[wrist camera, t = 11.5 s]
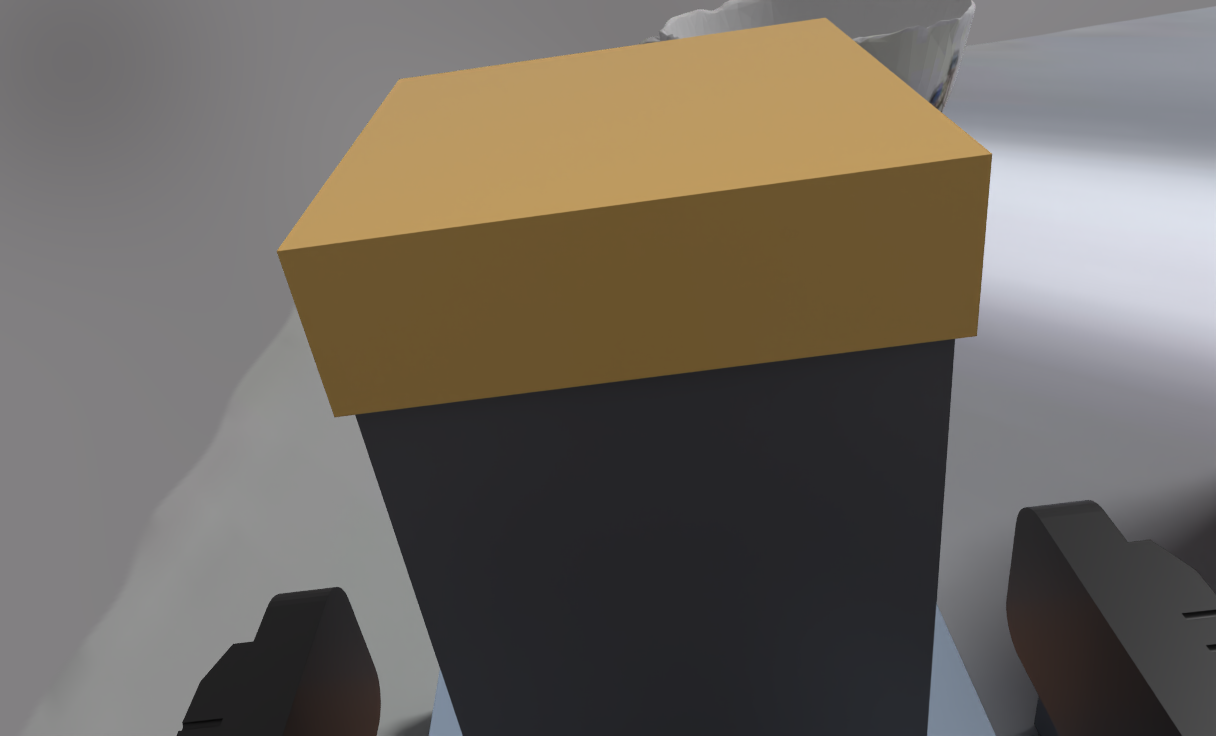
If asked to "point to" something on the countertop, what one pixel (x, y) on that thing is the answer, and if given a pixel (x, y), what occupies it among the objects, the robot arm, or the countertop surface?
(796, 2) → the teacup
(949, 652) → the blue rectangular board
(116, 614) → the countertop surface
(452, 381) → the block
